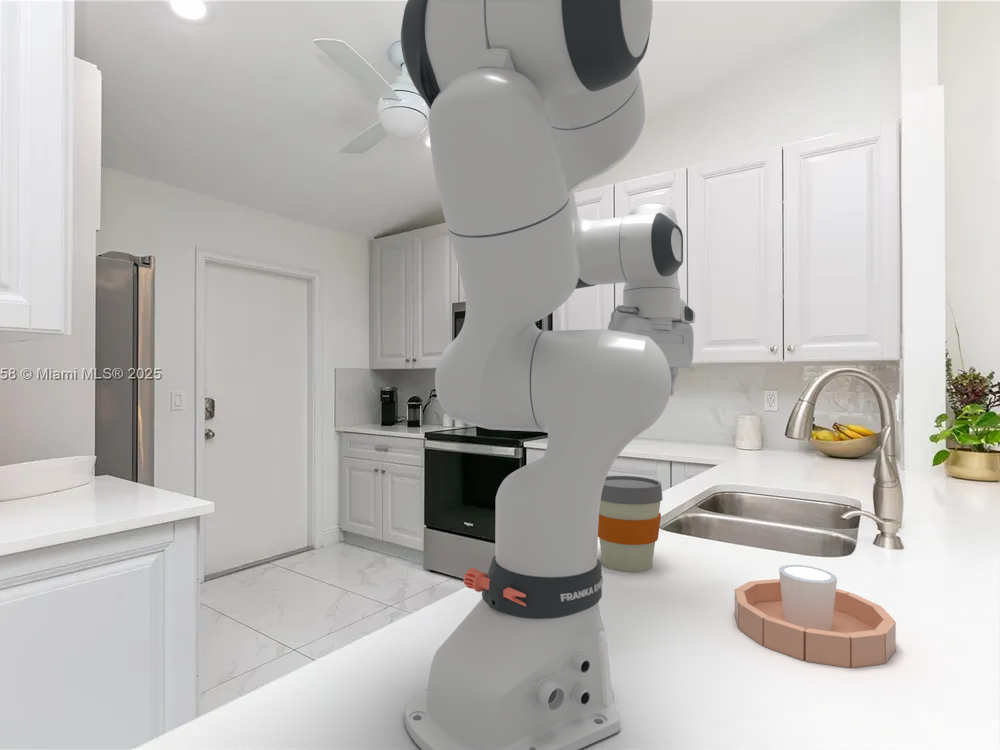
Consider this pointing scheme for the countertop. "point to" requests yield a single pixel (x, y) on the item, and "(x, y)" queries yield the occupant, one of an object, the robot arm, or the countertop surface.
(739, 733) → the countertop surface
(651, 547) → the reusable coffee cup
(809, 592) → the white tapered cup
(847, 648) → the terracotta round tray
